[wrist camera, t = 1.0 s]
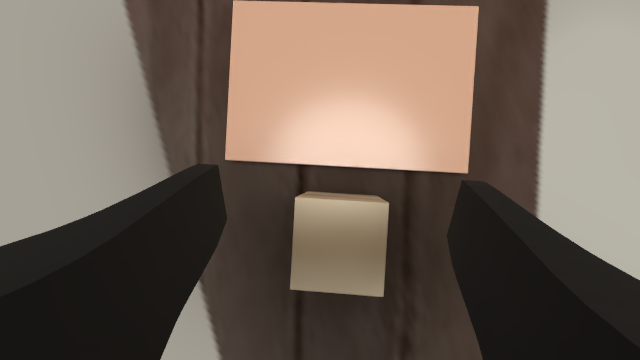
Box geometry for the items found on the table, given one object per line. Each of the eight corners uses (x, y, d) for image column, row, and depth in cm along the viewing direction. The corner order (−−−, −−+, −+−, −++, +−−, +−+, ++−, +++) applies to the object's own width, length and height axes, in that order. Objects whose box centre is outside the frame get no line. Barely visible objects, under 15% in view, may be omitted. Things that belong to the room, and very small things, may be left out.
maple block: (372, 263, 22) (383, 296, 16) (304, 258, 22) (290, 289, 16) (376, 195, 22) (389, 203, 16) (308, 191, 22) (295, 197, 16)
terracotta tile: (460, 173, 21) (467, 173, 20) (231, 160, 22) (225, 159, 21) (470, 15, 21) (478, 6, 20) (239, 9, 22) (233, 0, 21)
